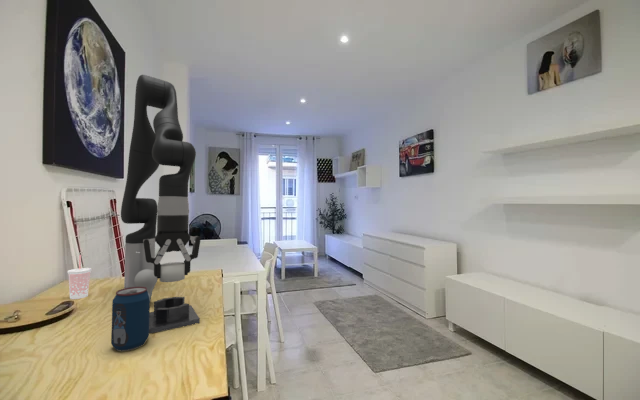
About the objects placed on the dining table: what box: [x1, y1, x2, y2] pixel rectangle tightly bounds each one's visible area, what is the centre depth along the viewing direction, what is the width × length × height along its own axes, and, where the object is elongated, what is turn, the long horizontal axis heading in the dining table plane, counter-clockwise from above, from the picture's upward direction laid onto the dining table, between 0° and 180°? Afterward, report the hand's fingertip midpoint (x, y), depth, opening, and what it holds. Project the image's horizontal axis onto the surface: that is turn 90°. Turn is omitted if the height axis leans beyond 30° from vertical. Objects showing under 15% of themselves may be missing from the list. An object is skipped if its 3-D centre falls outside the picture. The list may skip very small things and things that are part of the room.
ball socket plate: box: [149, 296, 201, 335], centre depth 76 cm, size 12×12×5 cm
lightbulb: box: [134, 269, 158, 303], centre depth 87 cm, size 6×6×11 cm
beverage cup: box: [67, 254, 92, 300], centre depth 95 cm, size 6×6×14 cm
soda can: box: [110, 287, 151, 352], centre depth 63 cm, size 7×7×12 cm
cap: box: [159, 261, 186, 283], centre depth 76 cm, size 6×6×4 cm
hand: (172, 276), depth 76 cm, fingers closed on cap, 6 cm apart
